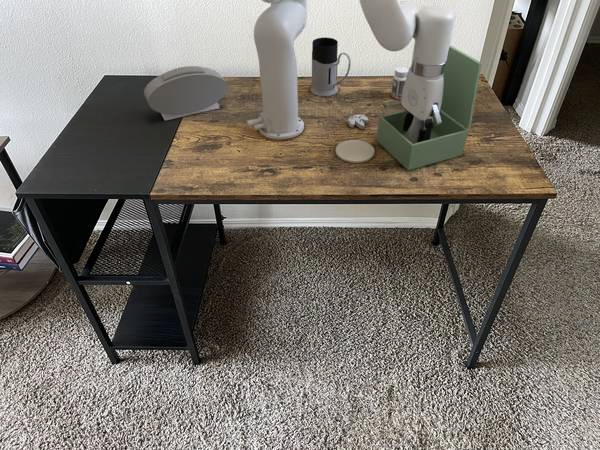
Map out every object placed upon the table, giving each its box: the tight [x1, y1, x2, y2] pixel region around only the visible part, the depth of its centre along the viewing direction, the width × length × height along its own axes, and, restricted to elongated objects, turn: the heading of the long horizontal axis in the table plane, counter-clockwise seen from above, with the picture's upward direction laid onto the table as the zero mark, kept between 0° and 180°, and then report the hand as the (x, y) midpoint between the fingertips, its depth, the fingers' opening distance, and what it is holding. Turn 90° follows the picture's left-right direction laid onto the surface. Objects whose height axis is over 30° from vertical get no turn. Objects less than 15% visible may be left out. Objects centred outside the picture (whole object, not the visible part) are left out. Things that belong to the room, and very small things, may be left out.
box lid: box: [440, 45, 482, 130], centre depth 109 cm, size 17×15×1 cm
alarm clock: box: [143, 65, 229, 121], centre depth 131 cm, size 23×6×13 cm, turn 115°
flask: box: [404, 116, 422, 144], centre depth 114 cm, size 7×7×10 cm
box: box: [376, 110, 469, 171], centre depth 116 cm, size 16×15×7 cm
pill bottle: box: [390, 66, 409, 100], centre depth 137 cm, size 5×5×8 cm
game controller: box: [339, 109, 369, 130], centre depth 128 cm, size 6×12×3 cm, turn 49°
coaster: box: [335, 139, 376, 164], centre depth 117 cm, size 10×10×1 cm
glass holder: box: [310, 36, 352, 97], centre depth 137 cm, size 9×14×15 cm, turn 46°
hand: (415, 135), depth 115 cm, fingers open, 5 cm apart
